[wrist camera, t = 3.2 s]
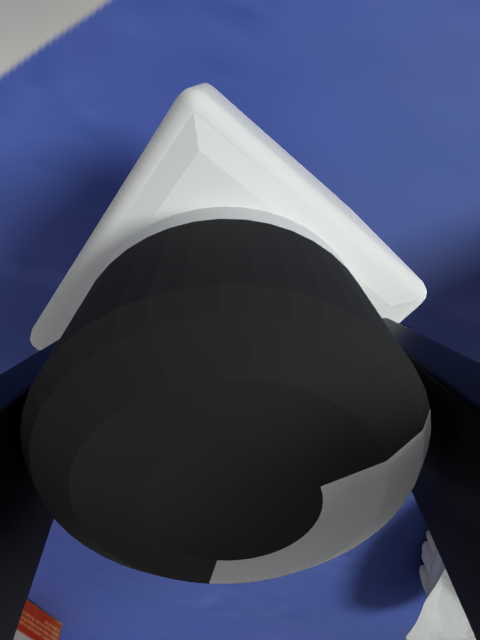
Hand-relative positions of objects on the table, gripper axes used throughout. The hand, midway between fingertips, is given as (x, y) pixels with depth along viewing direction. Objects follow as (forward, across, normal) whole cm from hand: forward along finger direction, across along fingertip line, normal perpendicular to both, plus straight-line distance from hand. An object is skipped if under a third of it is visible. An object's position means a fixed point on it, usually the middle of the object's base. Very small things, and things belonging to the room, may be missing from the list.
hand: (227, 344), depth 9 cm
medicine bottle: (+8, 0, 0) cm, 8 cm away
